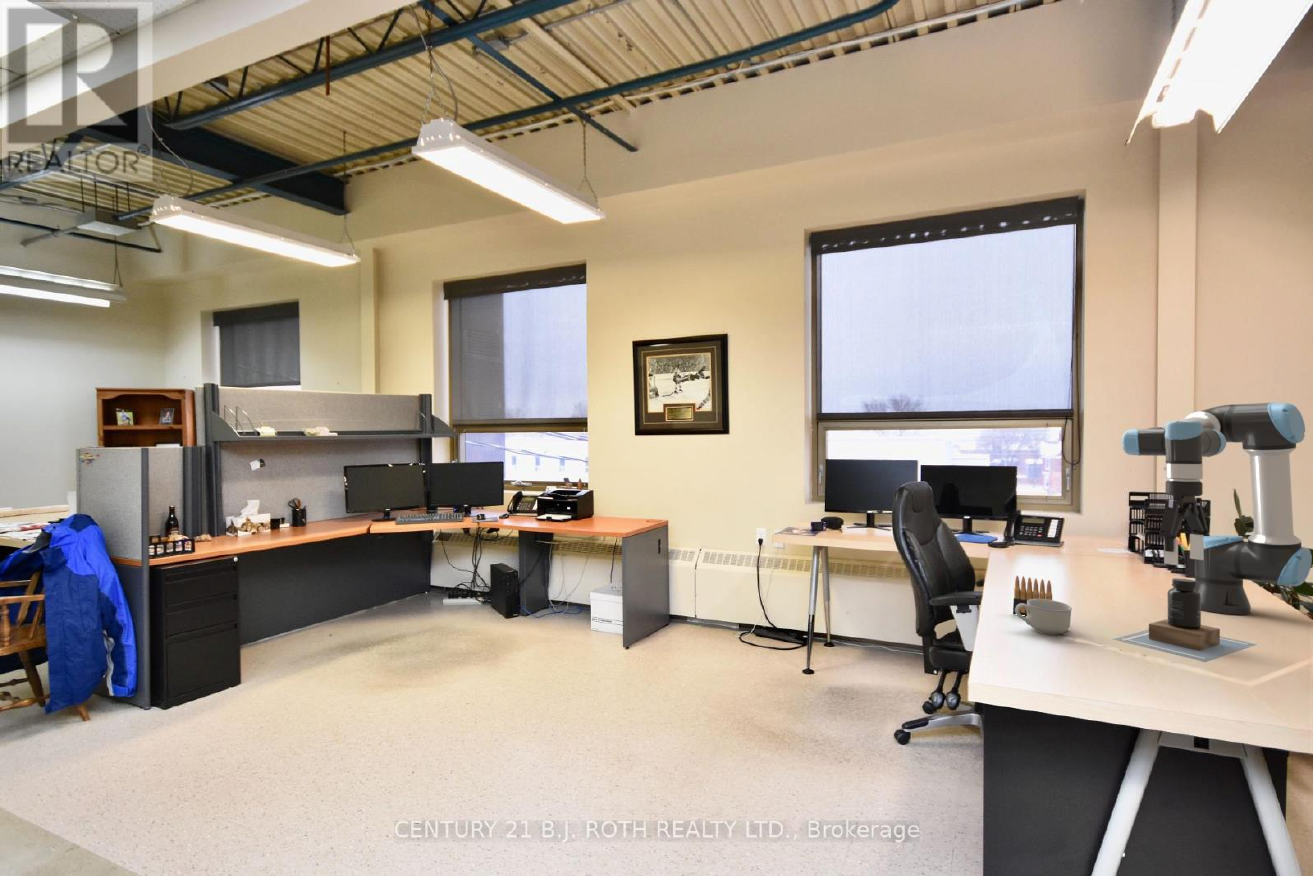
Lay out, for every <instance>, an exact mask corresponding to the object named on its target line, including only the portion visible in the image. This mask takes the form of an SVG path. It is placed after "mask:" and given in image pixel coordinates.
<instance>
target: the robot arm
mask: <svg viewBox="0 0 1313 876" xmlns="http://www.w3.org/2000/svg"><path fill="white" fill-rule="evenodd" d="M1305 426H1306V424H1305V420H1304V418H1303V414H1302V413H1301V411H1300V409H1298V408H1297V406H1296V405H1294V404H1292V403H1288V402H1263V403H1262V402H1261V403H1244V404H1241V403H1240V404H1232V403H1231V404H1225V405H1218V406H1214V407H1210V408H1206V409H1203V410H1199V411H1195V412H1192V413H1190V414H1189V415H1187V416H1186V417H1185V418H1182V419H1179V420H1174V421H1168V422H1166V423H1165V424H1161V425H1157V426H1154V427H1149V428H1142V429H1141V428H1140V429H1139V428H1136V429H1127V430H1126V431H1125V432H1124V433H1123V435H1122V438H1121V446H1122V450H1123V451H1124V453H1125V454H1127V455H1129V456H1138V457H1140V456H1145V457H1146V456H1150V457H1151V456H1160V457H1163V456H1164V457H1165V466H1164V468H1163V470H1164V471H1165V478H1166V479H1168V480H1166V481H1165V494H1166V495H1169V496H1172V499H1165V504H1164V505H1165V507H1164V510H1163V511H1164V512H1163V516H1162V520H1161V524H1160V528H1159V532H1158V538H1160V539H1163V547H1164V548H1163V553H1164V555H1163V561H1164V562H1163V563H1164V565H1165V564H1166V565H1171V566H1178V565H1179V539H1178V538H1177V536H1178V534H1179V530H1180V528H1181V526H1182V523H1183V521H1184V520H1186V523H1187V525H1188V527H1189V530H1190V532H1191V533H1190V534H1189V559H1191V560H1194V581H1196V589H1195V591H1197V592H1198V593H1199V594H1200V595H1201V611H1205V612H1210V613H1216V614H1225V615H1238V614H1239V616H1240V615H1241V616H1242V615H1250V614H1251V613H1252V609H1251V608H1252V607H1251V603H1250V601H1249V598H1248V595H1247V593H1246V590H1245V588H1244V580H1246V581H1254V582H1260V583H1264V584H1265V583H1266V584H1273V585H1277V586H1287V587H1288V586H1289V587H1298V586H1301V585H1302V584H1303V583H1304V582H1305V581H1306V579H1307V578H1308V576H1309V574H1310V572H1311V567H1312V563H1313V562H1312V560H1313V558H1312V553H1311V550H1310V549H1309V548H1307V547H1304V546H1302V539H1300V538H1299V537H1297V536H1296V535H1295V534H1294V519H1293V518H1294V517H1293V499H1292V497H1293V496H1292V480H1291V461H1290V460H1291V459H1290V454H1291V453H1292V452H1293V451H1295V450H1296V449H1297V444H1299V443H1302V442H1303V441H1304V439H1305V433H1306V427H1305ZM1227 443H1241V444H1242V450H1243V451H1244V452H1246V453H1247V454H1249V461H1250V462H1249V464H1250V478H1251V479H1250V481H1251V498H1252V499H1251V500H1252V514H1253V515H1252V516H1253V518H1252V519H1253V531H1254V532H1253V533H1252V534H1251V535H1249V536H1248V537H1247V541H1245V539H1244V537H1243V536H1241V535H1209V527H1208V524H1207V520H1206V516H1205V512H1204V508H1203V499H1202V497H1200V496H1202V495H1203V494H1204V493H1203V488H1204V487H1203V482H1202V481H1201V480H1203V479H1204V473H1203V472H1204V471H1203V467H1204V466H1203V465H1204V464H1203V457H1204V458H1205V457H1206V458H1210V457H1213V456H1217V455H1219V454H1221V453H1222V452H1223V451H1224V450H1225V449H1226V446H1227Z"/></svg>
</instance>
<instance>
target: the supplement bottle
mask: <svg viewBox="0 0 1313 876" xmlns="http://www.w3.org/2000/svg"><path fill="white" fill-rule="evenodd" d="M1171 580H1172V582H1171V586H1172V587H1173V588H1170V589H1168V591H1167V611H1166V612H1167V618H1166V619H1168V624H1169V625H1171V626H1175V627H1179V628H1185V629H1199V628H1200V627H1201V625H1202V610H1201V595H1200V594H1199V593H1198V592H1197V591H1195V589H1196V581H1195V579H1194V580H1193V579H1187V578H1178V577H1177V578H1175V577H1174V578H1172V579H1171Z"/></svg>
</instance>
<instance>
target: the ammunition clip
mask: <svg viewBox="0 0 1313 876" xmlns="http://www.w3.org/2000/svg"><path fill="white" fill-rule="evenodd" d="M1026 585H1027V586H1026ZM1013 589H1014V592H1013V596H1014V597H1013V602H1012V603H1013V605H1012V606H1013V608H1012V615H1013V614H1016V612H1015V608H1016V606H1017V605H1018V604H1022V603H1023V604H1026V605H1027V601H1028V600H1030V599H1046V600H1053V592H1052V583H1051V581H1050V579H1048V580H1047V583H1046V588H1045V581H1044V579H1041V581H1040V585H1039V582H1038V579H1037V578H1036V577H1035V579H1034V580H1033V582H1032V578H1031V577H1030V576H1029V577H1028V579H1027V584H1026V578H1025V576H1022V578H1021V583H1020V577H1019V576H1018V575H1016V576H1015V580H1014V588H1013ZM1045 589H1046V590H1045ZM1019 612H1020V614H1021V615H1025V616H1027V611H1026V608H1024V607H1022V608H1021V609H1020V611H1019Z"/></svg>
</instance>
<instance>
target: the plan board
mask: <svg viewBox="0 0 1313 876" xmlns="http://www.w3.org/2000/svg"><path fill="white" fill-rule="evenodd" d="M1112 640H1115V641H1119V642H1122V643H1127V644H1131V645H1133V646H1139V647H1143V648H1146V649H1151V650H1154V651H1155V650H1156V651H1160V652H1163V653H1167V654H1171V655H1175V656H1179V657H1183V658H1188V659H1192V660H1196V661H1200V662H1203V663H1206V662H1209V661H1212V660H1215V659H1219V658H1220V657H1223V656H1227V655H1230V654H1233V653H1236V652H1238V651H1242V650H1244V649H1247V648H1250V647H1253V646H1256V645H1257V643H1253V642H1248V641H1245V640H1244V641H1243V640H1239V639H1234V638H1229V637H1224V636H1220V644H1219V645H1216V646H1213V647H1210V648H1207V649H1204V650H1200V651H1198V650H1193V649H1189V648H1185V647H1181V646H1176V645H1172V644H1168V643H1164V642H1159V641H1155V640H1151V639H1149V629H1146V630H1142V631H1139V632H1138V631H1137V632H1134V633H1131V634H1127V635H1123V636H1118V637H1117V638H1112Z"/></svg>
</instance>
